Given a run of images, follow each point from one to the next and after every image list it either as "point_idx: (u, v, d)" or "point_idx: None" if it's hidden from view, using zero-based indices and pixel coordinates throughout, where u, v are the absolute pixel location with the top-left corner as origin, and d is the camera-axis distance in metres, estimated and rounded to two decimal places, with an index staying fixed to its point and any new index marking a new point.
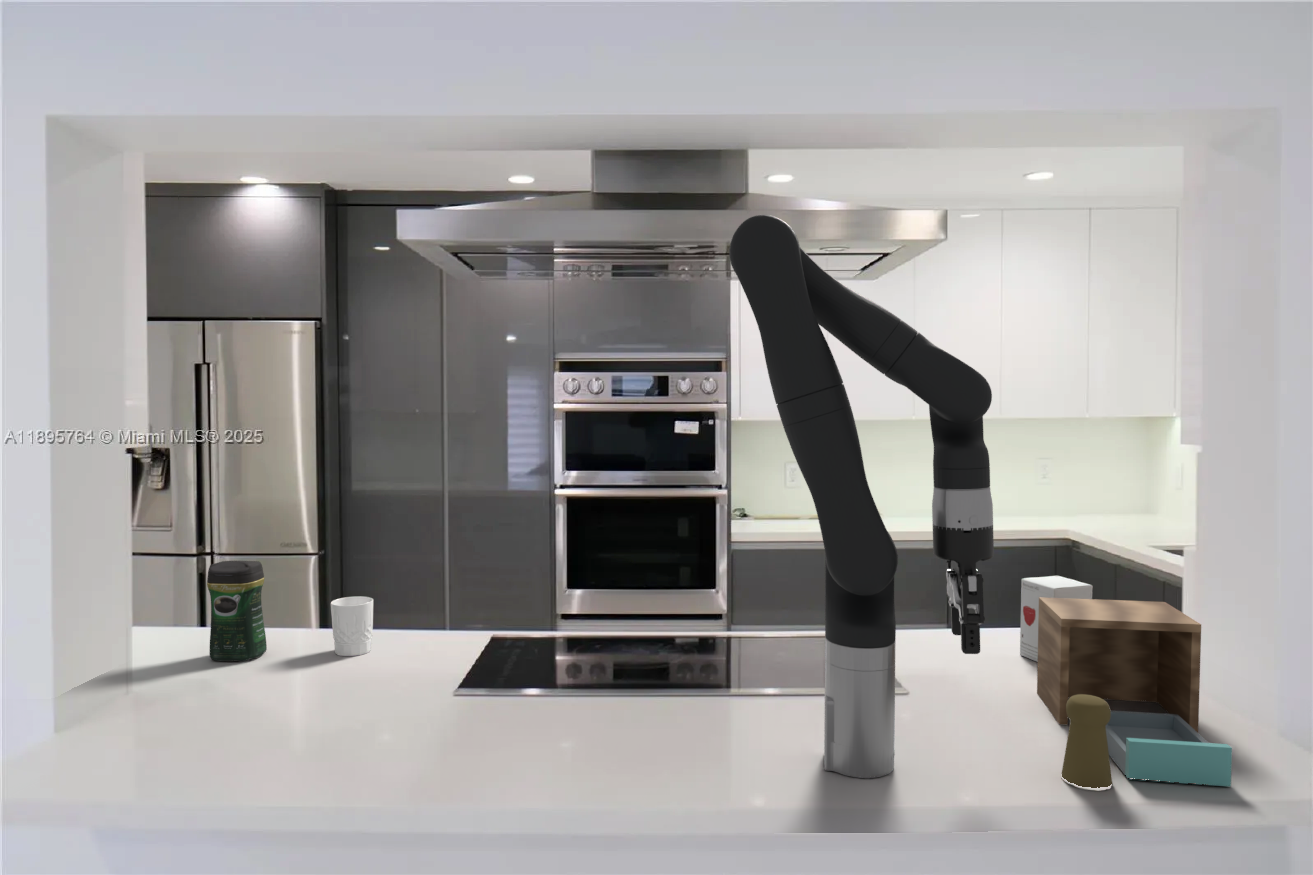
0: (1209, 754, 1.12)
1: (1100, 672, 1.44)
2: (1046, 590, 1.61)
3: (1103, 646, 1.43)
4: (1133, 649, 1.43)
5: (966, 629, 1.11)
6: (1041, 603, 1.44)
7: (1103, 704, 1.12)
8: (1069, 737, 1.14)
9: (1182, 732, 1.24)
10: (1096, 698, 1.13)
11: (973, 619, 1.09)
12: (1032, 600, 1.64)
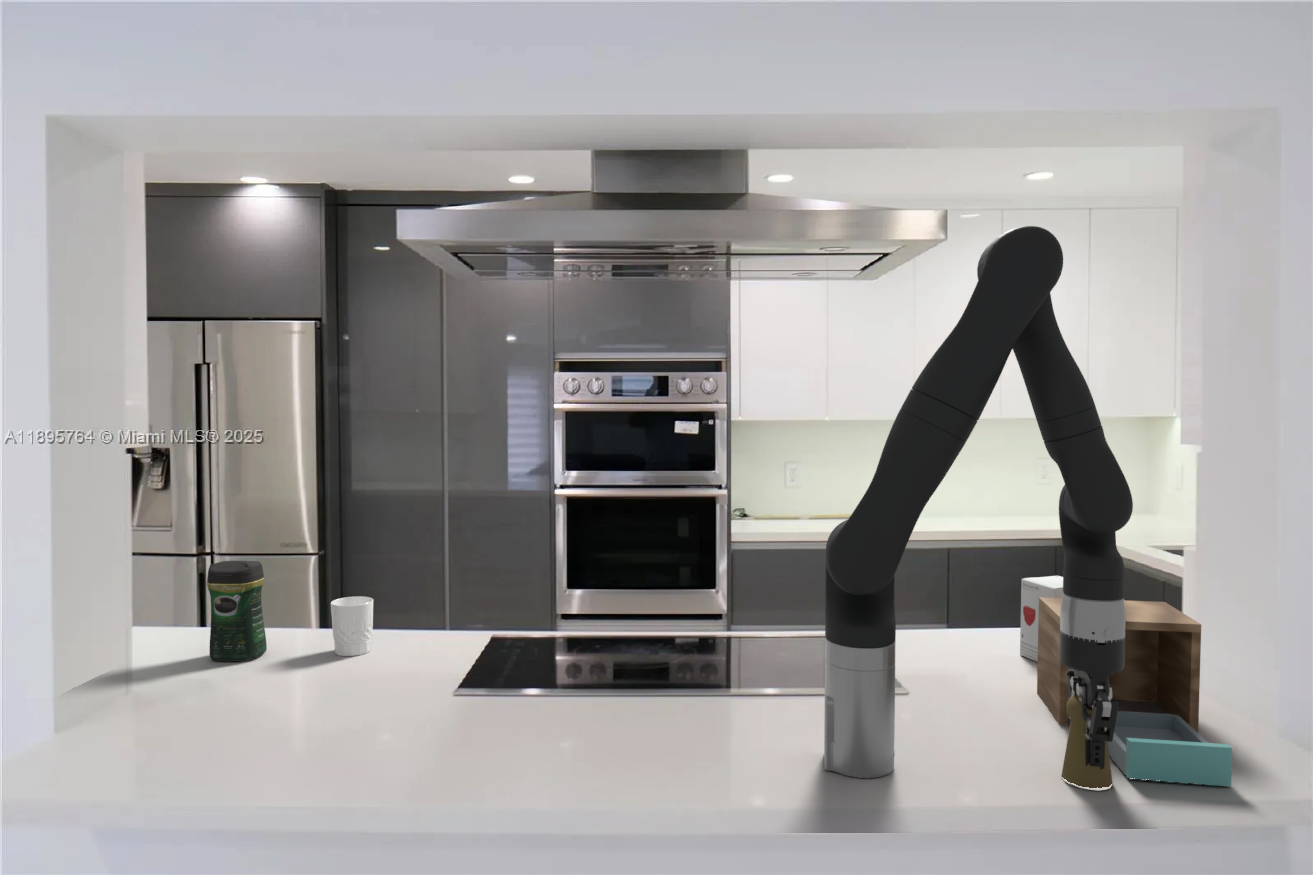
0: (1209, 754, 1.12)
1: None
2: (1046, 590, 1.61)
3: None
4: (1133, 649, 1.43)
5: (1091, 745, 1.11)
6: (1041, 603, 1.44)
7: None
8: (1069, 737, 1.14)
9: (1182, 732, 1.24)
10: None
11: (1101, 739, 1.09)
12: (1032, 600, 1.64)
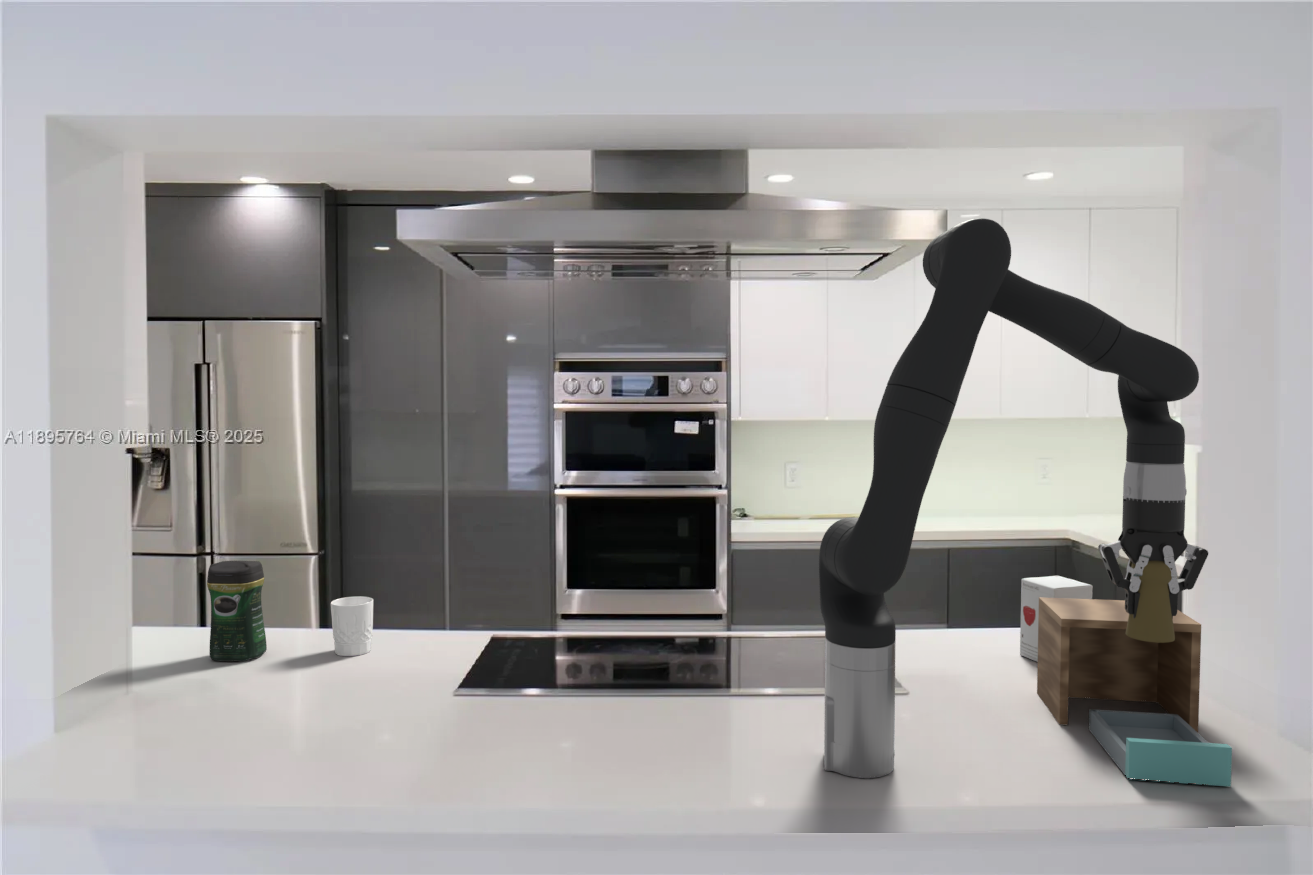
0: (1209, 754, 1.12)
1: (1100, 672, 1.44)
2: (1046, 590, 1.61)
3: (1103, 646, 1.43)
4: (1133, 649, 1.43)
5: (1125, 592, 1.24)
6: (1041, 603, 1.44)
7: None
8: None
9: (1182, 732, 1.24)
10: None
11: (1113, 582, 1.23)
12: (1032, 600, 1.64)
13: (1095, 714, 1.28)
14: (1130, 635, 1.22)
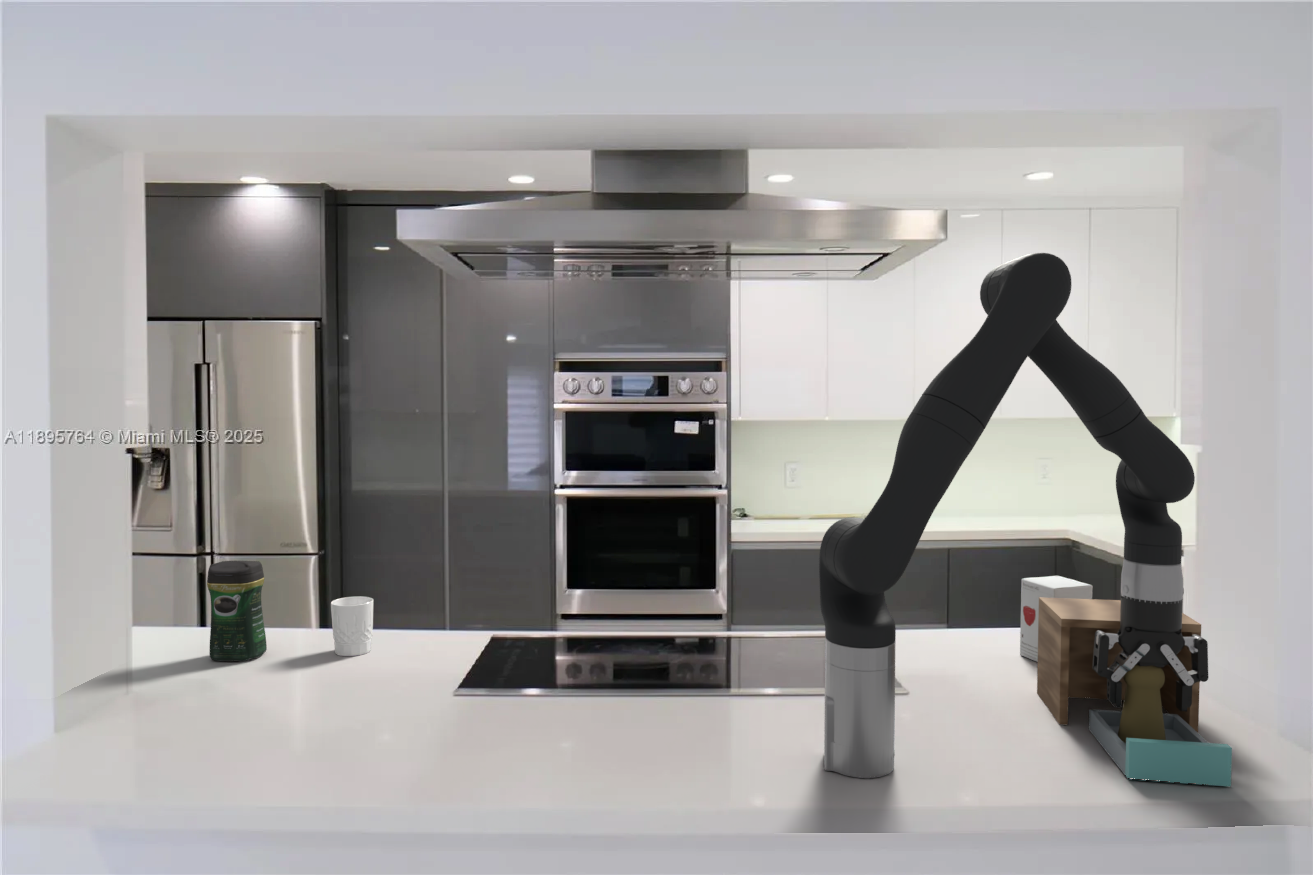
0: (1209, 754, 1.12)
1: None
2: (1046, 590, 1.61)
3: None
4: None
5: (1107, 681, 1.25)
6: (1041, 603, 1.44)
7: (1135, 668, 1.22)
8: None
9: (1182, 732, 1.24)
10: None
11: (1095, 669, 1.24)
12: (1032, 600, 1.64)
13: (1095, 714, 1.28)
14: (1121, 739, 1.24)
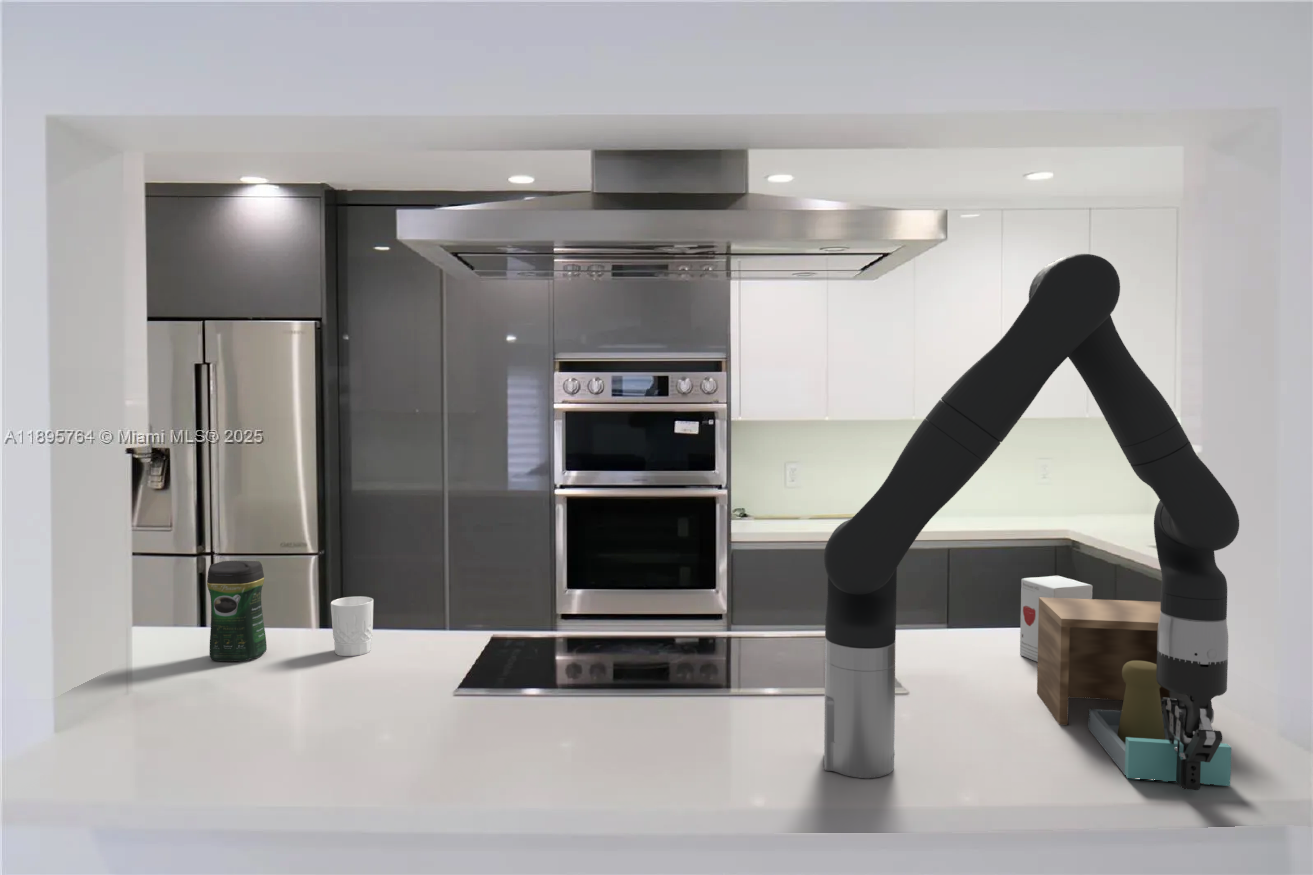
0: None
1: (1100, 672, 1.44)
2: (1046, 590, 1.61)
3: (1103, 646, 1.43)
4: (1133, 649, 1.43)
5: (1187, 765, 1.08)
6: (1041, 603, 1.44)
7: (1135, 667, 1.22)
8: None
9: None
10: (1144, 664, 1.23)
11: (1198, 760, 1.07)
12: (1032, 600, 1.64)
13: (1095, 714, 1.28)
14: (1121, 738, 1.24)
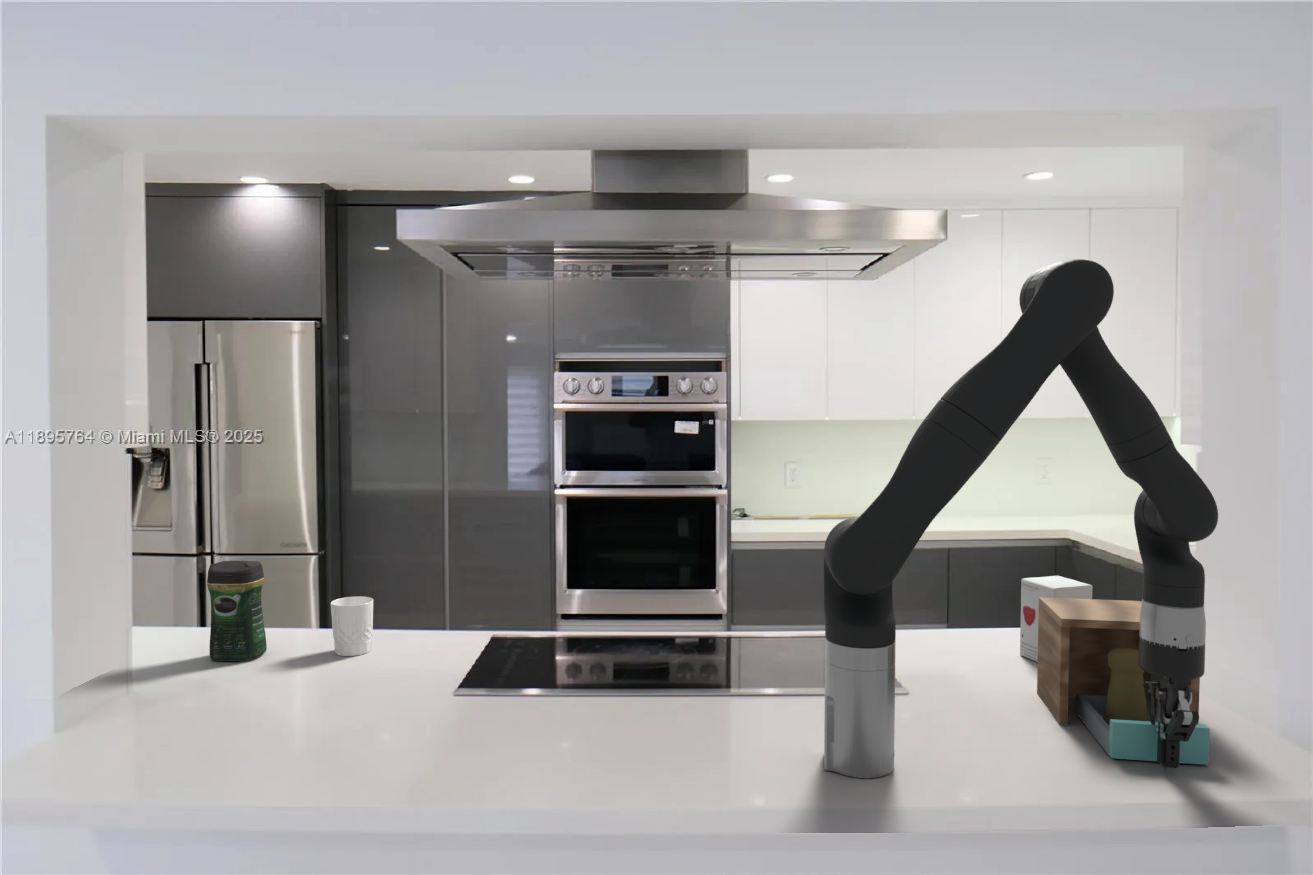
0: None
1: (1100, 672, 1.44)
2: (1046, 590, 1.61)
3: (1103, 646, 1.43)
4: None
5: (1167, 744, 1.15)
6: (1041, 603, 1.44)
7: (1119, 654, 1.29)
8: None
9: None
10: (1128, 651, 1.29)
11: (1177, 739, 1.13)
12: (1032, 600, 1.64)
13: (1082, 698, 1.35)
14: (1106, 721, 1.30)
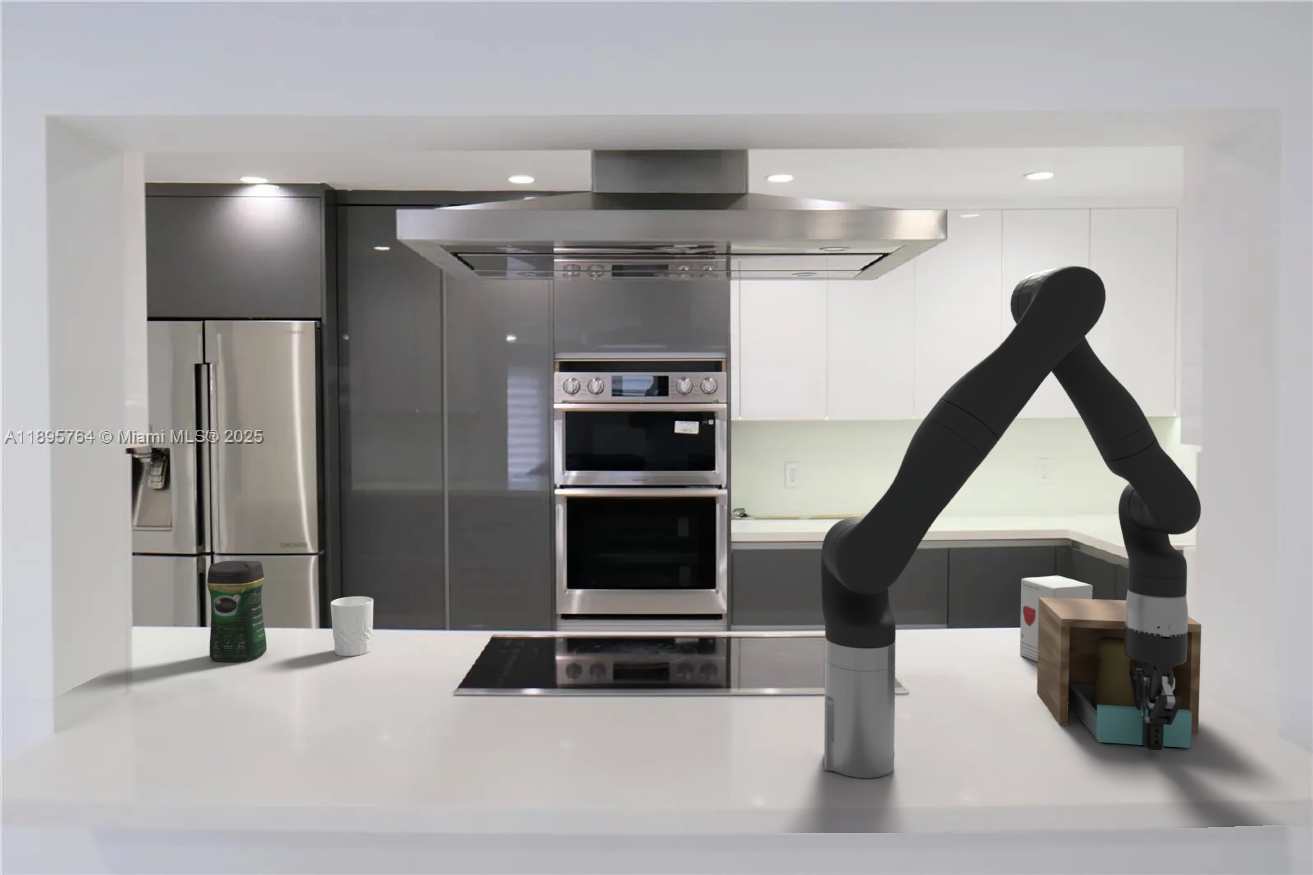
0: None
1: None
2: (1046, 590, 1.61)
3: None
4: None
5: (1151, 728, 1.20)
6: (1041, 603, 1.44)
7: (1107, 643, 1.34)
8: None
9: None
10: (1115, 640, 1.34)
11: (1161, 723, 1.19)
12: (1032, 600, 1.64)
13: (1071, 686, 1.40)
14: (1095, 708, 1.36)
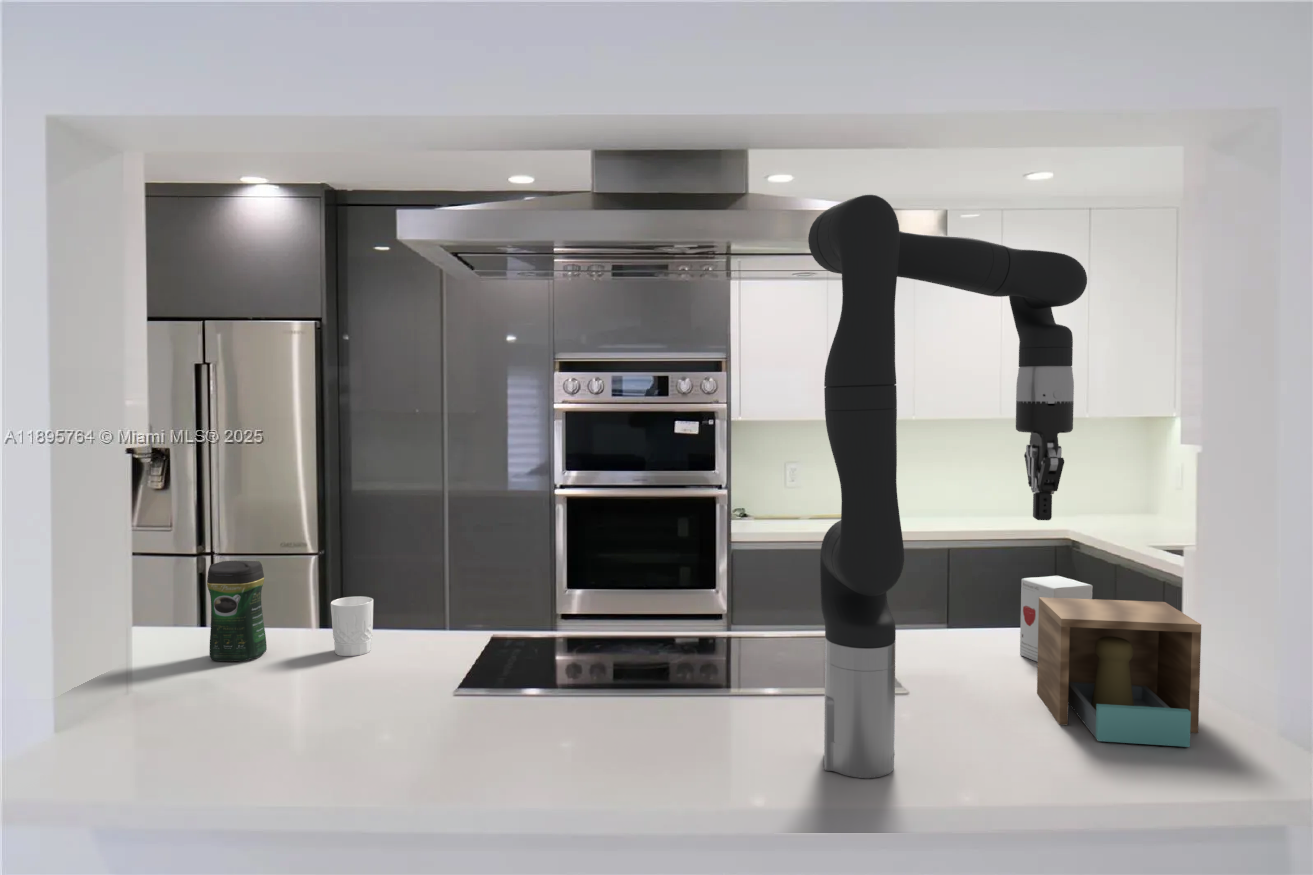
0: (1171, 718, 1.24)
1: None
2: (1046, 590, 1.61)
3: None
4: (1133, 649, 1.43)
5: (1040, 497, 1.25)
6: (1041, 603, 1.44)
7: (1106, 642, 1.35)
8: None
9: (1149, 701, 1.37)
10: (1115, 640, 1.35)
11: (1047, 489, 1.23)
12: (1032, 600, 1.64)
13: (1071, 685, 1.41)
14: (1094, 707, 1.36)
